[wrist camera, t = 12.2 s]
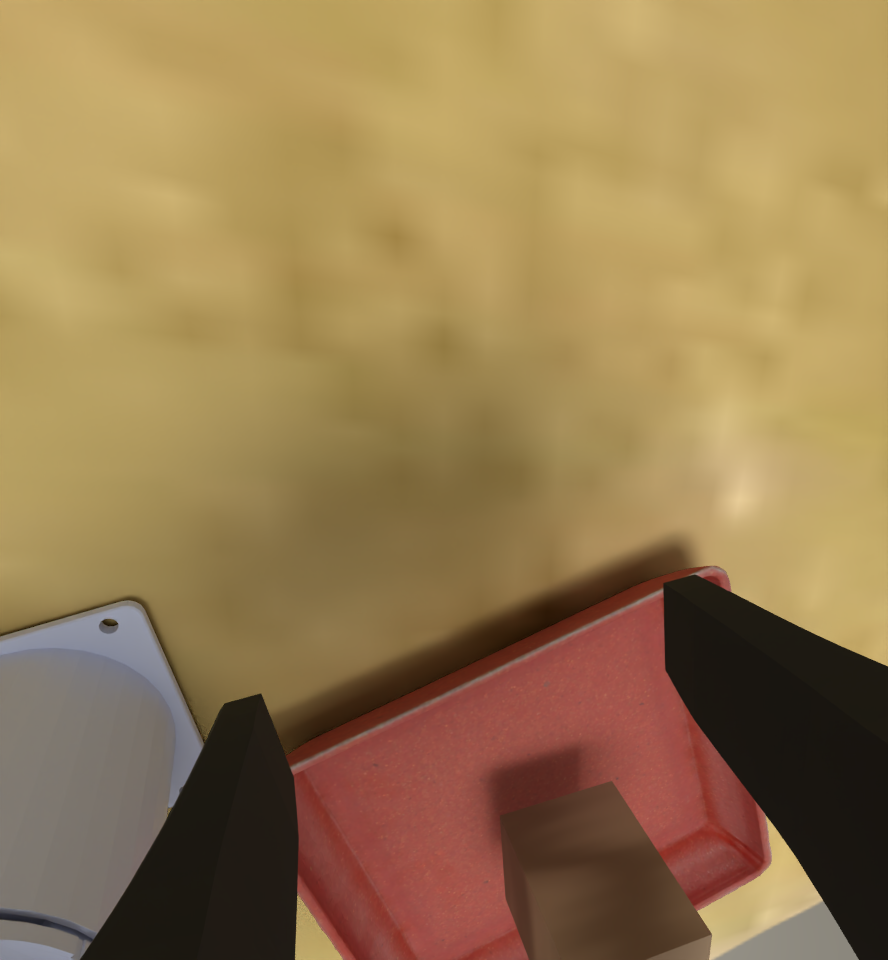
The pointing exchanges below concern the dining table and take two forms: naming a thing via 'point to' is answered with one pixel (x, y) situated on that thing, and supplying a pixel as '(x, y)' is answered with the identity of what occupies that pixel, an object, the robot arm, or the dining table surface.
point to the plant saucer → (512, 785)
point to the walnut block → (594, 884)
